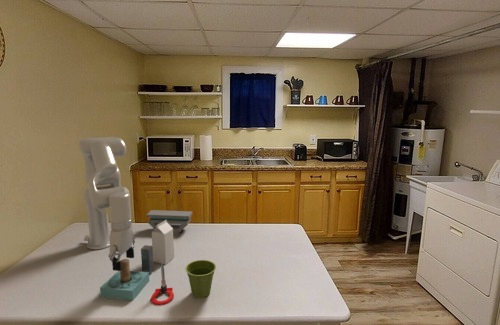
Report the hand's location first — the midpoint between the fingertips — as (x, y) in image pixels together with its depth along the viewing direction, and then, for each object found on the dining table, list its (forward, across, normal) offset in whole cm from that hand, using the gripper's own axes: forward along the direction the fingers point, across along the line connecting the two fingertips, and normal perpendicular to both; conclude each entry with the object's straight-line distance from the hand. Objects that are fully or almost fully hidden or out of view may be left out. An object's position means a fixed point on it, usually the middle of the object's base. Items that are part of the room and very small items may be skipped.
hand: (123, 263), depth 125 cm
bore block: (+11, +1, +1) cm, 11 cm away
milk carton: (+11, -24, +6) cm, 27 cm away
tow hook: (+11, +4, +18) cm, 21 cm away
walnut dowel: (+11, +1, +1) cm, 11 cm away
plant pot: (+10, -1, +32) cm, 33 cm away
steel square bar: (+11, -12, +4) cm, 17 cm away
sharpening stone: (+12, -58, -5) cm, 60 cm away
